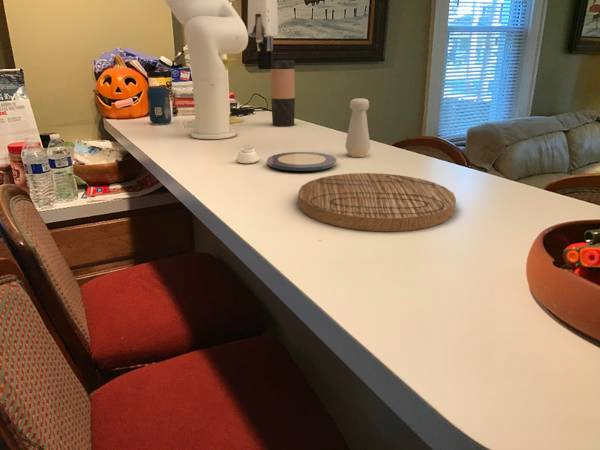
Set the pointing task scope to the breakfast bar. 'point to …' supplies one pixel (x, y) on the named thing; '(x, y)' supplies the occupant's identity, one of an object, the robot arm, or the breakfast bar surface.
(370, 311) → the breakfast bar surface
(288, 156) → the plate
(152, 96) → the soda can
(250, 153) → the white jar
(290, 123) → the travel mug
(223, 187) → the breakfast bar surface
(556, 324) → the breakfast bar surface
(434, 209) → the trivet
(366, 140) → the salt shaker
